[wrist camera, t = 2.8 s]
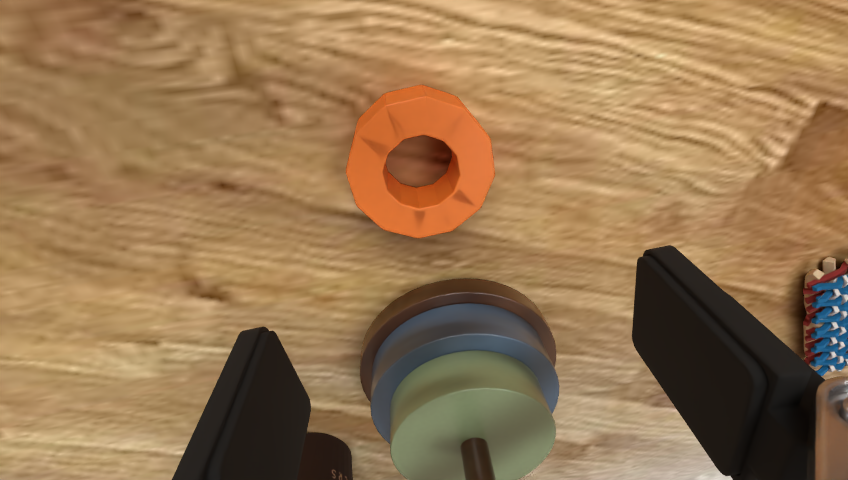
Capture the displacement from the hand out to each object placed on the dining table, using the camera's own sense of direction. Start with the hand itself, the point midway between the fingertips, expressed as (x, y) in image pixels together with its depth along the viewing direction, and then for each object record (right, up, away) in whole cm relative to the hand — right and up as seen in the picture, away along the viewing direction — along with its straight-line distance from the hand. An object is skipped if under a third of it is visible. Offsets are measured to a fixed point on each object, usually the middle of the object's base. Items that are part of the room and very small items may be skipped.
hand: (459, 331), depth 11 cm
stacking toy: (+1, -6, +19) cm, 20 cm away
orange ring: (-1, +7, +12) cm, 14 cm away
